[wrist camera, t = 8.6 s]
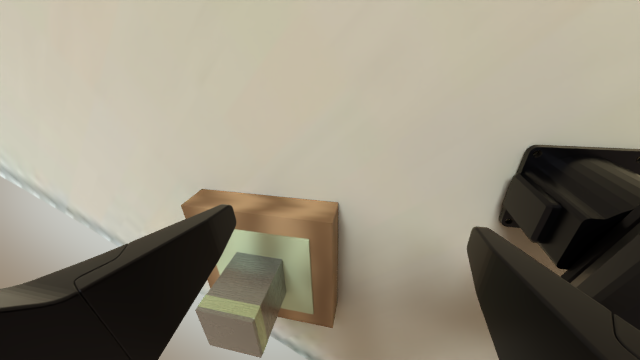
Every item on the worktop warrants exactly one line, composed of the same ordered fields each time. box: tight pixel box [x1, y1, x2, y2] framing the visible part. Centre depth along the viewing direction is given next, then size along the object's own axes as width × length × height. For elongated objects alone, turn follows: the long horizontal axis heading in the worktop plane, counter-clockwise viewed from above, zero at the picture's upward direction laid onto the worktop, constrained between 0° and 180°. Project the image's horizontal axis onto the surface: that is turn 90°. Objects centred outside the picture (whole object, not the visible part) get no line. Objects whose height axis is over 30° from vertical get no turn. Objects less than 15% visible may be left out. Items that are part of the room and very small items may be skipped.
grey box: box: [195, 252, 286, 358], centre depth 21 cm, size 5×5×6 cm
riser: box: [181, 189, 338, 328], centre depth 25 cm, size 14×14×3 cm
